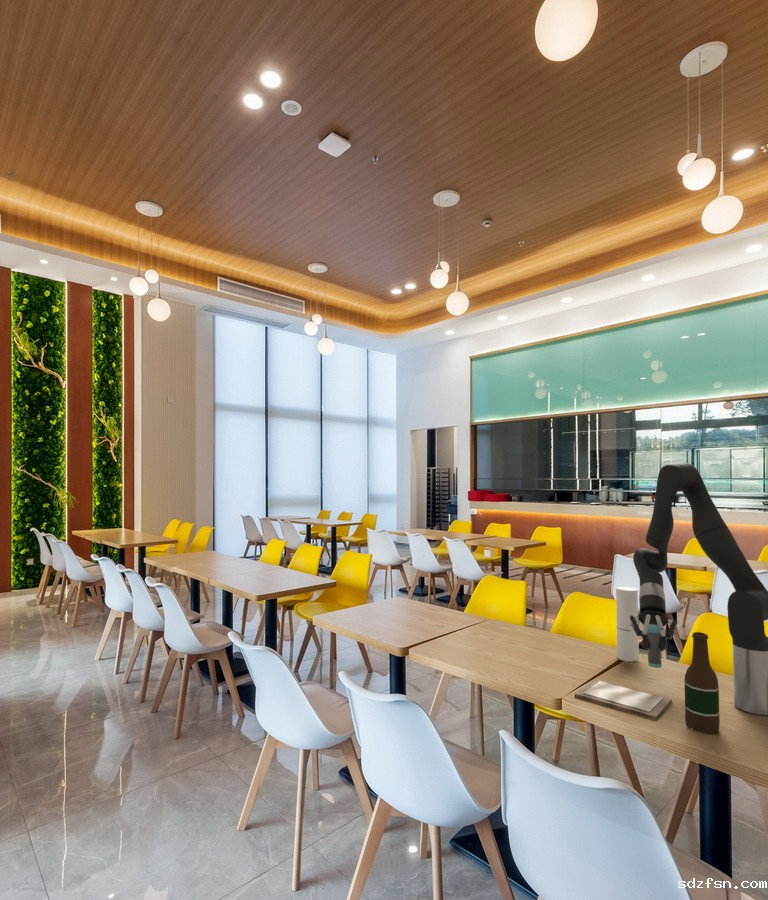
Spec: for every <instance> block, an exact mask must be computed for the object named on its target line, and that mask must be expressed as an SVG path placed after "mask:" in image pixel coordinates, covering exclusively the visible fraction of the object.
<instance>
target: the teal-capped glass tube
mask: <svg viewBox="0 0 768 900" xmlns="http://www.w3.org/2000/svg"><path fill="white" fill-rule="evenodd" d="M660 633H661V628H660V625H657V624H647V636H648V649H647V662H648V663H647V664H648V665H647V666H649V667H652V668H658V669H659V668H662V667H663V665H662V663H663V662H662V651H661V643H660Z"/></svg>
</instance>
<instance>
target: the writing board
mask: <svg viewBox="0 0 768 900" xmlns="http://www.w3.org/2000/svg"><path fill="white" fill-rule="evenodd" d="M574 698H577V699H580V700H584V701H587V702H590V703H593V704H597V703H598V704H597V705H601V704H602V705H601V706H604V705H605V707H607V706H608V708H611V707H612V709H614V710H618V711H621V710H622V711H621V712H625V711H626V713H628V712H630V713H629V714H632V713H633V714H632V715H635V714H637V715H636V716H638V715H641V716H640V717H642V716H644V717H643V718H645V717H647V718H646V719H649V718H650V719H649V720H652V719H653V721H657V720H658V719H659V718H660V717H661V716H662V715H663V713H664V712H665V711H666V710H667V709H668V708H669V707H670V706H671V704H672V703H673V699H672V698H670V697H665V696H660V695H658V694H654V693H649V692H646V691H642V690H639V689H634V688H630V687H628V686H627V687H626V686H623V685H619V684H615V683H611V682H607V681H604V680H599V679H596V678H594V679H593V680H592V681H590V682H588V683H587V684H586V685H585V686H583V687H582V688H580V689H579V690H578V691H576V692H575V693H574ZM660 715H661V716H660Z"/></svg>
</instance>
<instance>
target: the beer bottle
mask: <svg viewBox="0 0 768 900" xmlns="http://www.w3.org/2000/svg"><path fill="white" fill-rule="evenodd" d="M691 638H693V640H692V658H691V664H690V665H689V666H688V667H687V669H686V672H685V674H684V714H685V715H684V717H685V718H684V719H685V725H686V727H688V726H689V727H690V728H689V727H688V728H689V729H691V728H692V729H693V730H692V729H691V730H692V731H694V730H695V731H694V732H697V731H698V732H697V733H701V732H702V733H701V734H704V733H705V735H717V733H718V732H719V730H720V724H721V723H720V720H721V719H720V693H719V692H720V686H719V679H718V676H717V674H716V672H715V670H714V669H713V668H712V666H711V662H710V657H709V656H710V655H709V645H708V639H709V636H708V634H707V633H705V632H701V631H695V632H693V633H692V635H691Z"/></svg>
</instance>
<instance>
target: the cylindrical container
mask: <svg viewBox="0 0 768 900" xmlns="http://www.w3.org/2000/svg"><path fill="white" fill-rule="evenodd" d="M615 591H616V592H615V593H616V594H615V595H616V596H615V597H616V599H615V600H616V603H615V604H616V605H615V606H616V608H615V609H616V657H618V658H619V659H618V658H617V659H618V660H621V661H624V662H628V661H637V662H639V661H640V657H639V655H640V653H639V652H640V651H639V649H640V648H639V647H640V646H639V644H640V643H639V636H637V635H636V633H635V631H634V629H633V627H632V625H631V622H630V616H631V615H632V616H634V617H635V616H638V614H639V590H638V589H637V588H636V587H631V586H630V587H629V586H617V587H616V588H615ZM638 660H639V661H638Z"/></svg>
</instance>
